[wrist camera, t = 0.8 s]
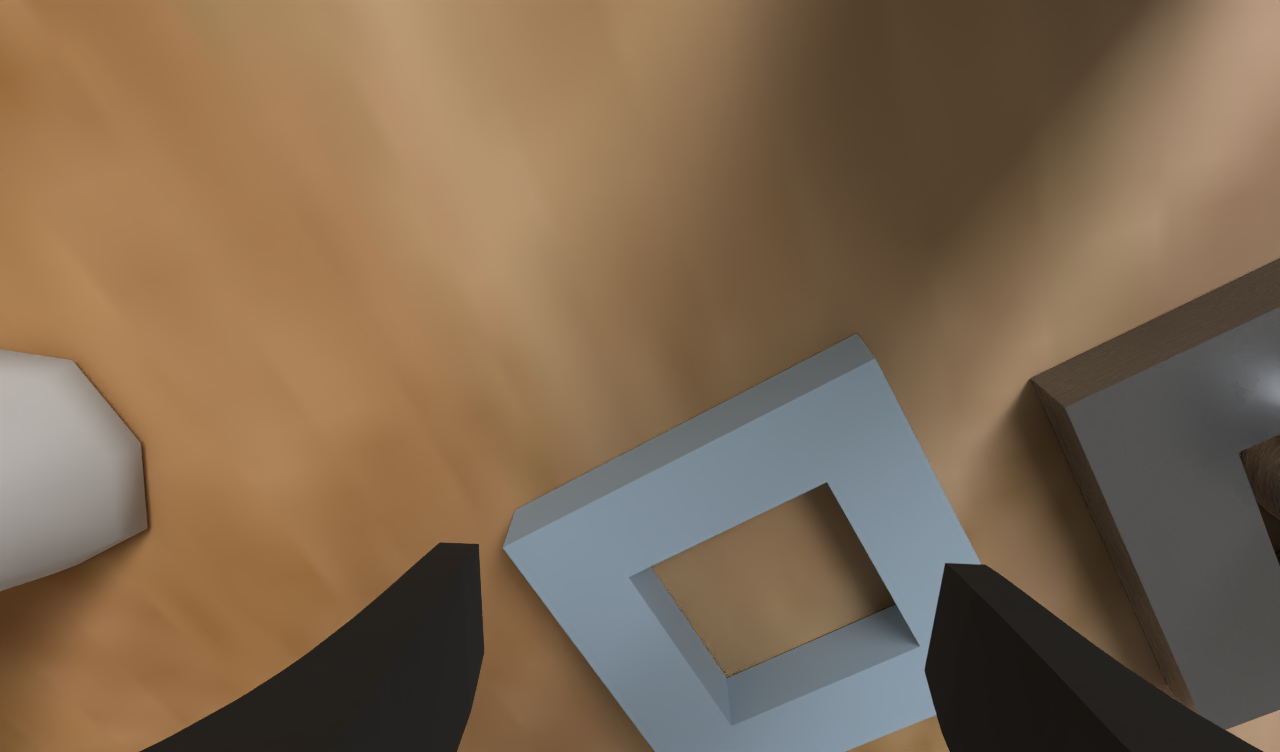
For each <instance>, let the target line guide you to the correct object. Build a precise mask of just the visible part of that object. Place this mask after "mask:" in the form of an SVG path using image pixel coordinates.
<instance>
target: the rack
mask: <svg viewBox="0 0 1280 752" xmlns="http://www.w3.org/2000/svg"><path fill="white" fill-rule="evenodd" d="M826 482H827V483H828V485H829V487H830V488H831V490H832V492H833V494H834V495H835V497H836V499H837V501H838V502H839V504H840V506H841V508H842V510H843V511H844V513H845V515H846V517H847V518H848V520H849V522H850V524H851V525H852V527H853V529H854V531H855V532H856V534H857V536H858V538H859V539H860V541H861V543H862V545H863V547H864V548H865V550H866V552H867V554H868V555H869V557H870V559H871V561H872V562H873V564H874V566H875V568H876V569H877V571H878V573H879V575H880V577H881V578H882V580H883V582H884V584H885V585H886V587H887V589H888V591H889V592H890V594H891V596H892V598H893V599H894V601H895V603H896V604H895V605H893V606H891V607H889V608H886V609H884V610H882V611H879V612H877V613H875V614H873V615H870V616H868V617H866V618H863V619H861V620H859V621H857V622H854V623H852V624H850V625H847V626H845V627H843V628H840V629H838V630H836V631H834V632H831V633H829V634H827V635H824V636H822V637H820V638H818V639H815V640H813V641H811V642H808V643H806V644H804V645H802V646H799V647H797V648H795V649H792V650H790V651H788V652H785V653H783V654H781V655H779V656H776V657H774V658H772V659H769V660H767V661H765V662H763V663H760V664H758V665H756V666H753V667H751V668H749V669H747V670H744V671H742V672H740V673H737V674H735V675H733V676H730V677H728V678H726V676H725V675H724V673H723V672H722V671H721V669H720V668H719V666H718V665H717V663H716V662H715V660H714V659H713V657H712V656H711V654H710V653H709V651H708V650H707V648H706V647H705V645H704V644H703V643H702V641H701V640H700V638H699V637H698V635H697V634H696V632H695V631H694V629H693V628H692V626H691V625H690V623H689V622H688V620H687V619H686V617H685V616H684V615H683V613H682V612H681V610H680V609H679V607H678V606H677V604H676V603H675V601H674V600H673V598H672V597H671V595H670V594H669V592H668V591H667V589H666V588H665V587H664V585H663V584H662V582H661V581H660V579H659V578H658V576H657V575H656V573H655V572H654V570H653V569H652V567H651V566H653V565H655V564H657V563H659V562H661V561H664V560H666V559H668V558H670V557H672V556H674V555H676V554H678V553H680V552H682V551H684V550H686V549H689V548H691V547H693V546H695V545H697V544H699V543H701V542H703V541H705V540H707V539H709V538H712V537H714V536H716V535H718V534H720V533H722V532H724V531H726V530H728V529H730V528H732V527H734V526H737V525H739V524H741V523H743V522H745V521H747V520H749V519H751V518H753V517H755V516H757V515H759V514H762V513H764V512H766V511H768V510H770V509H772V508H774V507H776V506H778V505H780V504H782V503H785V502H787V501H789V500H791V499H793V498H795V497H797V496H799V495H801V494H803V493H805V492H807V491H810V490H812V489H814V488H816V487H818V486H820V485H822V484H824V483H826ZM503 549H504V550H505V551H506V553H507V554H508V555H509V557H510V558H511V560H512V561H513V562H514V564H515V565H516V566H517V568H518V569H519V570H520V572H521V573H522V574H523V576H524V577H525V578H526V580H527V581H528V582H529V584H530V585H531V586H532V588H533V589H534V590H535V592H536V593H537V594H538V596H539V597H540V598H541V600H542V601H543V602H544V604H545V605H546V606H547V608H548V609H549V610H550V612H551V613H552V615H553V616H554V617H555V619H556V620H557V621H558V623H559V624H560V625H561V627H562V628H563V629H564V631H565V632H566V633H567V635H568V636H569V637H570V639H571V640H572V641H573V643H574V644H575V645H576V647H577V648H578V649H579V651H580V652H581V653H582V655H583V656H584V657H585V659H586V660H587V661H588V663H589V664H590V665H591V667H592V668H593V670H594V671H595V672H596V674H597V675H598V676H599V678H600V679H601V680H602V682H603V683H604V684H605V686H606V687H607V688H608V690H609V691H610V692H611V694H612V695H613V696H614V698H615V699H616V700H617V702H618V703H619V704H620V706H621V707H622V708H623V710H624V711H625V712H626V714H627V715H628V716H629V718H630V719H631V721H632V722H633V723H634V725H635V726H636V727H637V729H638V730H639V731H640V733H641V734H642V735H643V737H644V738H645V739H646V741H647V742H648V743H649V745H650V746H651V747H652V749H653V750H654V751H655V752H845V751H848V750H850V749H853V748H855V747H858V746H860V745H863V744H865V743H868V742H870V741H873V740H875V739H878V738H880V737H883V736H885V735H888V734H890V733H893V732H895V731H897V730H900V729H902V728H905V727H907V726H910V725H912V724H915V723H917V722H920V721H922V720H925V719H927V718H930V717H932V716H935V715H937V714H936V711H935V708H934V705H933V701H932V697H931V693H930V690H929V686H928V682H927V679H926V675H925V671H924V669H925V664H926V659H927V654H928V649H929V644H930V638H931V633H932V628H933V623H934V618H935V613H936V607H937V602H938V597H939V592H940V587H941V581H942V576H943V571H944V566H945V563H956V564H981V563H980V561H979V559H978V557H977V555H976V553H975V551H974V549H973V547H972V545H971V544H970V542H969V540H968V538H967V536H966V534H965V532H964V530H963V528H962V526H961V524H960V522H959V520H958V518H957V516H956V514H955V512H954V510H953V508H952V506H951V505H950V503H949V501H948V499H947V497H946V495H945V493H944V491H943V489H942V487H941V485H940V483H939V481H938V479H937V477H936V475H935V473H934V471H933V469H932V468H931V466H930V464H929V462H928V460H927V458H926V456H925V454H924V452H923V450H922V448H921V446H920V444H919V442H918V440H917V438H916V436H915V434H914V432H913V430H912V429H911V427H910V425H909V423H908V421H907V419H906V417H905V415H904V413H903V411H902V409H901V407H900V405H899V403H898V401H897V399H896V397H895V395H894V393H893V392H892V390H891V388H890V386H889V384H888V382H887V380H886V378H885V376H884V374H883V372H882V370H881V368H880V366H879V364H878V362H877V360H876V358H875V357H874V356H873V354H872V353H871V352H870V350H869V349H868V347H867V346H866V345H865V343H864V342H863V340H862V339H861V338H860V336H859V335H858V334H857V333H856V334H854V335H852V336H850V337H849V338H847V339H845V340H843V341H841V342H839V343H837V344H835V345H833V346H831V347H829V348H827V349H825V350H823V351H821V352H820V353H818V354H816V355H814V356H812V357H810V358H808V359H806V360H804V361H802V362H800V363H798V364H796V365H794V366H792V367H791V368H789V369H787V370H785V371H783V372H781V373H779V374H777V375H775V376H773V377H771V378H769V379H767V380H765V381H763V382H762V383H760V384H758V385H756V386H754V387H752V388H750V389H748V390H746V391H744V392H742V393H740V394H738V395H736V396H734V397H733V398H731V399H729V400H727V401H725V402H723V403H721V404H719V405H717V406H715V407H713V408H711V409H709V410H707V411H705V412H704V413H702V414H700V415H698V416H696V417H694V418H692V419H690V420H688V421H686V422H684V423H682V424H680V425H678V426H676V427H675V428H673V429H671V430H669V431H667V432H665V433H663V434H661V435H659V436H657V437H655V438H653V439H651V440H649V441H647V442H646V443H644V444H642V445H640V446H638V447H636V448H634V449H632V450H630V451H628V452H626V453H624V454H622V455H620V456H618V457H617V458H615V459H613V460H611V461H609V462H607V463H605V464H603V465H601V466H599V467H597V468H595V469H593V470H591V471H589V472H588V473H586V474H584V475H582V476H580V477H578V478H576V479H574V480H572V481H570V482H568V483H566V484H564V485H562V486H560V487H558V488H557V489H555V490H553V491H551V492H549V493H547V494H545V495H543V496H541V497H539V498H537V499H535V500H533V501H531V502H529V503H528V504H526V505H524V506H522V507H520V508H518V509H516V510H515V513H514V516H513V518H512V521H511V524H510V527H509V530H508V533H507V536H506V539H505V542H504V545H503Z"/></svg>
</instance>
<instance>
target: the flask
mask: <svg viewBox="0 0 1280 752" xmlns="http://www.w3.org/2000/svg"><path fill="white" fill-rule="evenodd" d="M147 528H148V524H147V512H146V500H145V488H144V476H143V464H142V452H141V443H140V442H139V440H138V439H137V438H136V437H135V436H134V434H133V433H132V432H131V431H130V430H129V428H128V427H127V426H126V425H125V423H124V422H123V421H122V420H121V419H120V417H119V416H118V415H117V414H116V413H115V411H114V410H113V409H112V408H111V406H110V405H109V404H108V403H107V402H106V400H105V399H104V398H103V397H102V396H101V394H100V393H99V392H98V391H97V389H96V388H95V387H94V386H93V385H92V383H91V382H90V381H89V380H88V379H87V377H86V376H85V375H84V374H83V372H82V371H81V370H80V369H79V368H78V366H77V365H76V364H75V363H74V362H73V360H68V359H62V358H55V357H48V356H42V355H35V354H28V353H22V352H15V351H8V350H1V349H0V591H3V590H6V589H9V588H12V587H15V586H18V585H21V584H24V583H27V582H30V581H33V580H36V579H39V578H42V577H46V576H49V575H52V574H54V573H57V572H60V571H62V570H65V569H68V568H71V567H73V566H76V565H78V564H80V563H82V562H84V561H86V560H88V559H90V558H92V557H94V556H96V555H98V554H99V553H101V552H103V551H105V550H107V549H109V548H111V547H113V546H115V545H117V544H119V543H121V542H123V541H124V540H126V539H128V538H130V537H132V536H134V535H136V534H138V533H140V532H142V531H144V530H146V529H147Z"/></svg>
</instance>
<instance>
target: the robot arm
mask: <svg viewBox="0 0 1280 752" xmlns="http://www.w3.org/2000/svg"><path fill="white" fill-rule="evenodd" d="M483 655H484V638H483V619H482V600H481V580H480V561H479V544H462V543H439V544H438V545H436V546H435V547H434V548H433V549H432V550H431V551H429V552H428V553H427V554H426V555H425V556H424V557H423V558H421V559H420V560H419V561H418V562H417V563H416V564H415V565H414V566H412V567H411V568H410V569H409V570H408V571H407V572H406V573H405V574H404V575H402V576H401V577H400V578H399V579H398V580H397V581H396V582H395V583H393V584H392V585H391V586H390V587H389V588H388V589H387V590H386V591H384V592H383V593H382V594H381V595H380V596H379V597H377V598H376V599H375V600H374V601H373V602H372V603H370V604H369V605H368V606H367V607H366V608H364V609H363V610H362V611H361V612H360V613H359V614H357V615H356V616H355V617H354V618H353V619H351V620H350V621H349V622H348V623H346V624H345V625H344V626H342V627H341V628H340V629H338V630H337V631H336V632H335V633H333V634H332V635H331V636H329V637H328V638H327V639H326V640H324V641H323V642H322V643H320V644H319V645H318V646H316V647H315V648H314V649H313V650H311V651H310V652H309V653H307V654H306V655H304V656H303V657H302V658H300V659H299V660H297V661H296V662H295V663H293V664H292V665H290V666H289V667H287V668H286V669H284V670H283V671H281V672H280V673H278V674H277V675H275V676H274V677H272V678H271V679H269V680H268V681H266V682H264V683H263V684H261V685H260V686H258V687H257V688H255V689H253V690H252V691H250V692H249V693H247V694H246V695H244V696H242V697H241V698H239V699H237V700H236V701H234V702H232V703H230V704H228V705H227V706H225V707H223V708H221V709H219V710H218V711H216V712H214V713H212V714H210V715H209V716H207V717H205V718H203V719H201V720H199V721H198V722H196V723H194V724H192V725H190V726H189V727H187V728H185V729H183V730H181V731H180V732H178V733H176V734H174V735H172V736H170V737H168V738H166V739H164V740H163V741H161V742H159V743H156V744H154V745H152V746H150V747H148V748H146V749H144V750H142V751H140V752H457V750H458V747H459V744H460V741H461V738H462V735H463V733H464V730H465V727H466V724H467V721H468V718H469V715H470V712H471V708H472V704H473V700H474V696H475V691H476V687H477V683H478V678H479V673H480V669H481V664H482V659H483ZM924 671H925V675H926V679H927V682H928V686H929V690H930V693H931V697H932V701H933V705H934V708H935V711H936V714H937V718H938V721H939V724H940V728H941V731H942V734H943V736H944V739H945V741H946V744H947V746H948V748H949V751H950V752H1263V751H1261V750H1259V749H1258V748H1256V747H1254V746H1252V745H1250V744H1248V743H1247V742H1245V741H1243V740H1242V739H1240V738H1238V737H1236V736H1235V735H1233V734H1231V733H1230V732H1228V731H1226V730H1224V729H1223V728H1221V727H1219V726H1218V725H1216V724H1214V723H1212V722H1211V721H1209V720H1207V719H1206V718H1204V717H1202V716H1200V715H1199V714H1197V713H1195V712H1194V711H1192V710H1191V709H1189V708H1187V707H1186V706H1184V705H1182V704H1181V703H1179V702H1178V701H1176V700H1174V699H1173V698H1171V697H1170V696H1168V695H1167V694H1165V693H1164V692H1162V691H1161V690H1159V689H1158V688H1156V687H1155V686H1153V685H1152V684H1150V683H1149V682H1147V681H1146V680H1144V679H1143V678H1141V677H1140V676H1138V675H1137V674H1135V673H1134V672H1132V671H1131V670H1129V669H1128V668H1126V667H1125V666H1124V665H1122V664H1121V663H1119V662H1118V661H1116V660H1115V659H1114V658H1112V657H1111V656H1109V655H1108V654H1106V653H1105V652H1104V651H1102V650H1101V649H1100V648H1098V647H1097V646H1095V645H1094V644H1093V643H1091V642H1090V641H1088V640H1087V639H1086V638H1084V637H1083V636H1082V635H1080V634H1079V633H1078V632H1076V631H1075V630H1074V629H1072V628H1071V627H1070V626H1068V625H1067V624H1066V623H1064V622H1063V621H1062V620H1060V619H1059V618H1058V617H1056V616H1055V615H1054V614H1052V613H1051V612H1050V611H1048V610H1047V609H1046V608H1044V607H1043V606H1042V605H1040V604H1039V603H1038V602H1036V601H1035V600H1034V599H1032V598H1031V597H1030V596H1028V595H1027V594H1026V593H1025V592H1023V591H1022V590H1020V589H1019V588H1018V587H1016V586H1015V585H1014V584H1012V583H1011V582H1010V581H1008V580H1007V579H1006V578H1004V577H1003V576H1001V575H1000V574H999V573H997V572H996V571H994V570H993V569H991V568H990V567H988V566H986V565H981V564H956V563H945V566H944V571H943V576H942V581H941V587H940V592H939V597H938V602H937V607H936V613H935V618H934V623H933V628H932V633H931V638H930V644H929V649H928V654H927V659H926V664H925V669H924Z"/></svg>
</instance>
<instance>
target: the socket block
mask: <svg viewBox="0 0 1280 752" xmlns="http://www.w3.org/2000/svg"><path fill="white" fill-rule="evenodd" d="M1031 381H1032V383H1033V385H1034V387H1035V389H1036V392H1037V394H1038V396H1039V398H1040V401H1041V403H1042V405H1043V407H1044V410H1045V412H1046V414H1047V416H1048V419H1049V421H1050V423H1051V425H1052V427H1053V430H1054V432H1055V434H1056V436H1057V439H1058V441H1059V443H1060V445H1061V448H1062V450H1063V452H1064V454H1065V457H1066V459H1067V461H1068V463H1069V465H1070V468H1071V470H1072V472H1073V474H1074V477H1075V479H1076V481H1077V483H1078V486H1079V488H1080V490H1081V492H1082V495H1083V497H1084V499H1085V501H1086V504H1087V506H1088V508H1089V510H1090V512H1091V515H1092V517H1093V519H1094V521H1095V524H1096V526H1097V528H1098V530H1099V533H1100V535H1101V537H1102V539H1103V542H1104V544H1105V546H1106V548H1107V550H1108V553H1109V555H1110V557H1111V559H1112V562H1113V564H1114V566H1115V568H1116V571H1117V573H1118V575H1119V577H1120V580H1121V582H1122V584H1123V586H1124V588H1125V591H1126V593H1127V595H1128V597H1129V600H1130V602H1131V604H1132V606H1133V609H1134V611H1135V613H1136V615H1137V618H1138V620H1139V622H1140V624H1141V626H1142V629H1143V631H1144V633H1145V635H1146V638H1147V640H1148V642H1149V644H1150V647H1151V649H1152V651H1153V653H1154V656H1155V658H1156V660H1157V662H1158V665H1159V667H1160V669H1161V671H1162V673H1163V676H1164V678H1165V680H1166V682H1167V685H1168V687H1169V688H1170V689H1171V690H1172V692H1173V693H1174V694H1175V695H1176V697H1177V698H1178V699H1179V700H1180V701H1181V703H1182V704H1183V705H1184V706H1186V707H1187V708H1189V709H1191V710H1192V711H1194V712H1195V713H1197V714H1199V715H1200V716H1202V717H1204V718H1206V719H1207V720H1209V721H1211V722H1212V723H1214V724H1216V725H1218V726H1219V727H1221V728H1223V729H1224V730H1226V729H1228V728H1231V727H1234V726H1237V725H1239V724H1242V723H1245V722H1247V721H1250V720H1253V719H1256V718H1258V717H1261V716H1264V715H1266V714H1269V713H1272V712H1275V711H1277V710H1280V552H1277V553H1275V552H1274V549H1273V546H1272V544H1271V541H1270V538H1269V535H1268V533H1267V530H1266V527H1265V524H1264V522H1263V519H1262V516H1261V513H1260V511H1259V508H1258V505H1257V503H1256V500H1255V497H1254V494H1253V492H1252V489H1251V486H1250V483H1249V481H1248V478H1247V475H1246V472H1245V470H1244V467H1243V464H1242V461H1241V459H1240V456H1239V452H1241V451H1243V450H1246V449H1248V448H1250V447H1252V446H1255V445H1257V444H1259V443H1262V442H1264V441H1266V440H1268V439H1271V438H1273V437H1275V436H1278V435H1280V259H1278V260H1276V261H1274V262H1272V263H1270V264H1267V265H1265V266H1263V267H1261V268H1259V269H1257V270H1255V271H1253V272H1251V273H1249V274H1247V275H1245V276H1243V277H1240V278H1238V279H1236V280H1234V281H1232V282H1230V283H1228V284H1226V285H1224V286H1222V287H1220V288H1218V289H1216V290H1213V291H1211V292H1209V293H1207V294H1205V295H1203V296H1201V297H1199V298H1197V299H1195V300H1193V301H1191V302H1188V303H1186V304H1184V305H1182V306H1180V307H1178V308H1176V309H1174V310H1172V311H1170V312H1168V313H1166V314H1164V315H1161V316H1159V317H1157V318H1155V319H1153V320H1151V321H1149V322H1147V323H1145V324H1143V325H1141V326H1139V327H1137V328H1134V329H1132V330H1130V331H1128V332H1126V333H1124V334H1122V335H1120V336H1118V337H1116V338H1114V339H1112V340H1109V341H1107V342H1105V343H1103V344H1101V345H1099V346H1097V347H1095V348H1093V349H1091V350H1089V351H1087V352H1085V353H1082V354H1080V355H1078V356H1076V357H1074V358H1072V359H1070V360H1068V361H1066V362H1064V363H1062V364H1060V365H1058V366H1055V367H1053V368H1051V369H1049V370H1047V371H1045V372H1043V373H1041V374H1039V375H1037V376H1035V377H1033V378H1031Z"/></svg>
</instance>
